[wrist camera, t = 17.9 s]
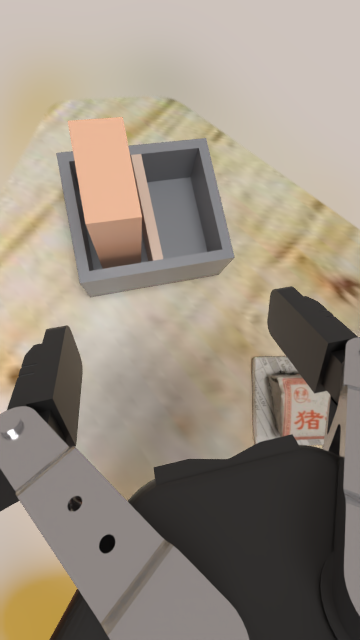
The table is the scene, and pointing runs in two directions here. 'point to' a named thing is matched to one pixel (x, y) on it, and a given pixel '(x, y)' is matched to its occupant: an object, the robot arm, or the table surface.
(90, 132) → the salmon rectangular block
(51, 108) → the table surface
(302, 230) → the table surface
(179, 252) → the grey open tray
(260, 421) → the packaged product
